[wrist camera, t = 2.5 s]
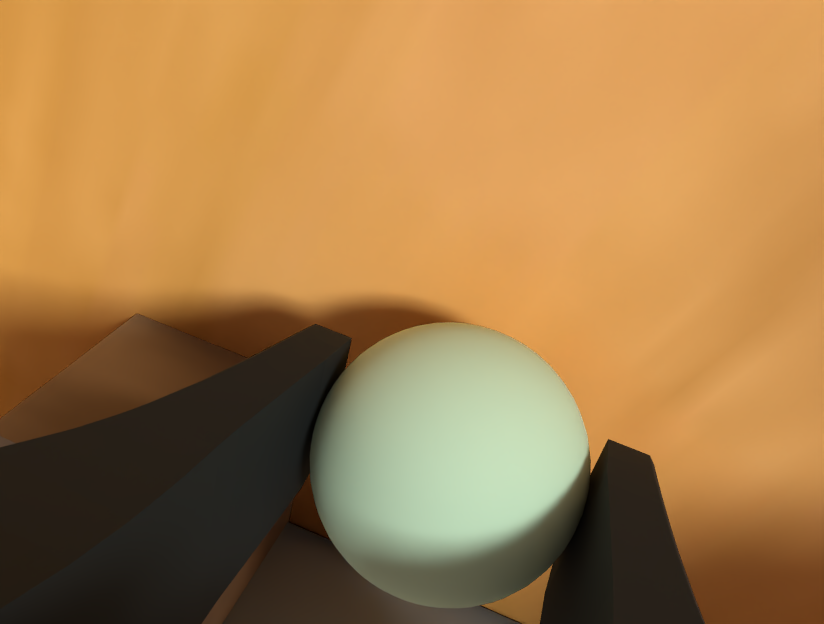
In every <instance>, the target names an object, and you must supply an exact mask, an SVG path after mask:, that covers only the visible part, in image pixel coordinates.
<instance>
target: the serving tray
mask: <svg viewBox="0 0 824 624" xmlns="http://www.w3.org/2000/svg"><path fill="white" fill-rule="evenodd" d="M222 624H520V623H518V622H515V621H513V620H511V619H509V618H506V617H504V616H502V615H499V614H497V613H495V612H493V611H490V610H488V609H486V608H483V607H481V606H474V607H468V608H436V607H428V606H423V605H418V604H415V603H411V602H408V601H405V600H402V599H400V598H397V597H395V596H393V595H391V594H389V593H387V592H385V591H383V590H381V589H380V588H378V587H376V586H375V585H373V584H372V583H371V582H369V581H368V580H366V579H365V578H364V577H363V576H361V575H360V574H359V573H358V572H357V571H356V570H355V569H354V568H353V567H352V566H351V565H350V564H349V563H348V562H347V561H346V560H345V558H344V557H343V556H342V555H341V553H340V552H339V551H338V550H337V548H336V547H335V545H334V544H333V542H332V541H330V540H328V539H326V538H324V537H321V536H319V535H317V534H314V533H312V532H310V531H308V530H305V529H303V528H301V527H298V526H296V525H294V524H292V523H289V522H288V523H287V524H286V526H285V527H284V529H283V530H282V532H281V533H280V535H279V537H278V538H277V540H276V541H275V543H274V544H273V546H272V547H271V549H270V551H269V552H268V554H267V555H266V557H265V558H264V560H263V561H262V563H261V565H260V566H259V568H258V569H257V571H256V572H255V574H254V575H253V577H252V578H251V580H250V582H249V583H248V585H247V586H246V588H245V589H244V591H243V592H242V594H241V596H240V597H239V599H238V600H237V602H236V603H235V605H234V606H233V608H232V609H231V611H230V613H229V614H228V616H227V617H226V619H225V620H224V622H223V623H222Z"/></svg>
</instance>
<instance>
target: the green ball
mask: <svg viewBox="0 0 824 624" xmlns="http://www.w3.org/2000/svg"><path fill="white" fill-rule="evenodd" d="M590 463H591V460H590V452H589V444H588V437H587V432H586V429H585V426H584V423H583V419H582V417H581V414H580V411H579V409H578V407H577V404H576V402H575V400H574V398H573V396H572V395H571V393H570V392H569V390H568V388H567V387H566V385H565V384H564V382H563V381H562V380H561V378H560V377H559V376H558V374H557V373H556V372H555V371H554V370H553V369H552V367H551V366H550V365H549V364H548V363H547V362H546V361H545V360H543V359H542V358H541V357H540V356H539V355H538V354H537V353H535V352H534V351H533V350H531V349H530V348H529V347H527V346H526V345H524V344H522V343H521V342H519V341H517V340H515V339H514V338H512V337H510V336H507V335H505V334H503V333H501V332H498V331H495V330H492V329H489V328H486V327H483V326H478V325H473V324H468V323H456V322H444V323H432V324H425V325H419V326H415V327H411V328H408V329H405V330H402V331H399V332H397V333H395V334H392V335H390V336H388V337H386V338H384V339H382V340H380V341H379V342H377V343H376V344H374V345H373V346H371V347H370V348H368V349H367V350H366V351H364V352H363V353H361V354H360V355H359V356H358V357H357V358H356V359H355V360H354V361H353V362H352V363H351V364H350V365H349V366H348V367H347V368H346V369H345V370H344V371H343V372H342V373H341V375H340V376H339V378H338V379H337V380H336V382H335V383H334V384H333V386H332V388H331V389H330V391H329V393H328V394H327V396H326V398H325V400H324V402H323V404H322V406H321V409H320V412H319V414H318V417H317V420H316V424H315V427H314V431H313V436H312V442H311V450H310V480H311V486H312V491H313V496H314V501H315V505H316V508H317V511H318V514H319V517H320V519H321V521H322V523H323V526H324V528H325V530H326V532H327V534H328V536H329V538H330V539H331V541H332V542H333V544H334V545H335V547H336V548H337V550H338V551H339V552H340V553H341V555H342V556H343V557H344V558H345V560H346V561H347V562H348V563H349V564H350V565H351V566H352V567H353V568H354V569H355V570H356V571H357V572H358V573H359V574H360V575H361V576H363V577H364V578H365V579H366V580H368V581H369V582H371V583H372V584H373V585H375V586H376V587H378V588H380V589H381V590H383V591H385V592H387V593H389V594H391V595H393V596H395V597H397V598H400V599H402V600H405V601H408V602H411V603H415V604H418V605H423V606H428V607H436V608H468V607H474V606H479V605H483V604H487V603H491V602H495V601H497V600H500V599H503V598H505V597H507V596H509V595H511V594H513V593H515V592H517V591H519V590H521V589H523V588H524V587H526V586H528V585H529V584H530V583H532V582H533V581H534V580H535V579H537V578H538V577H539V576H540V575H542V574H543V573H544V572H545V571H547V569H548V568H549V567H550V566H551V565H552V564H553V563H554V562H555V561H556V560H557V558H558V557H559V556H560V555H561V553H562V552H563V551H564V550H565V548H566V546H567V545H568V543H569V542H570V540H571V538H572V536H573V535H574V533H575V531H576V528H577V526H578V524H579V521H580V519H581V517H582V514H583V511H584V507H585V503H586V500H587V496H588V491H589V483H590Z"/></svg>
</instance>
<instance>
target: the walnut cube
mask: <svg viewBox="0 0 824 624" xmlns="http://www.w3.org/2000/svg"><path fill="white" fill-rule="evenodd" d="M246 359H248V358H246V357H243V356H241V355H239V354H236V353H234V352H231V351H229V350H226V349H224V348H221V347H219V346H216V345H214V344H211V343H209V342H206V341H204V340H201V339H199V338H196V337H194V336H191V335H189V334H187V333H184V332H182V331H179V330H177V329H174V328H172V327H169V326H167V325H164V324H162V323H159V322H157V321H154V320H152V319H149V318H147V317H144V316H142V315H140V314H136V315H134V316H133V317H132V318H130V319H129V320H128V321H126V322H125V323H124V324H123V325H121V326H120V327H119V328H117V329H116V330H115V331H113V332H112V333H111V334H110V335H108V336H107V337H106V338H104V339H103V340H102V341H100V342H99V343H98V344H97V345H95V346H94V347H93V348H91V349H90V350H89V351H87V352H86V353H85V354H83V355H82V356H81V357H80V358H78V359H77V360H76V361H74V362H73V363H72V364H70V365H69V366H68V367H67V368H65V369H64V370H63V371H61V372H60V373H59V374H57V375H56V376H55V377H54V378H52V379H51V380H50V381H48V382H47V383H46V384H44V385H43V386H42V387H40V388H39V389H38V390H37V391H35V392H34V393H33V394H31V395H30V396H29V397H27V398H26V399H25V400H24V401H22V402H21V403H20V404H18V405H17V406H16V407H14V408H13V409H12V410H11V411H9V412H8V413H7V414H5V415H4V416H3V417H1V418H0V447H3V446H7V445H11V444H15V443H19V442H23V441H27V440H31V439H35V438H39V437H43V436H47V435H51V434H55V433H58V432H62V431H66V430H70V429H73V428H77V427H80V426H83V425H86V424H89V423H93V422H96V421H99V420H102V419H105V418H108V417H111V416H114V415H117V414H120V413H123V412H126V411H128V410H131V409H134V408H136V407H139V406H142V405H144V404H147V403H150V402H152V401H154V400H157V399H159V398H162V397H164V396H166V395H169V394H171V393H173V392H176V391H178V390H181V389H183V388H185V387H188V386H190V385H193V384H195V383H197V382H199V381H202V380H204V379H206V378H208V377H210V376H212V375H214V374H216V373H219V372H221V371H223V370H225V369H227V368H229V367H231V366H233V365H235V364H237V363H239V362H241V361H244V360H246ZM292 502H293V500H292V501H291V503H290V504H289V505H288V507H287V508H286V509H285V511H284V512H283V513H282V515H281V516H280V517H279V519H278V520H277V522H276V523H275V524H274V526H273V527H272V528H271V530H270V531H269V532H268V534H267V535H266V536H265V538H264V539H263V540H262V542H261V543H260V544H259V546H258V547H257V548H256V550H255V551H254V552H253V554H252V555H251V556H250V558H249V559H248V560H247V562H246V563H245V564H244V566H243V567H242V568H241V570H240V571H239V572H238V574H237V575H236V576H235V578H234V579H233V580H232V582H231V583H230V584H229V586H228V587H227V588H226V590H225V591H224V592H223V594H222V595H221V596H220V598H219V599H218V601H217V602H216V604H215V605H214V606H213V608H212V609H211V611H210V612H209V614H208V615H207V617H206V618H205V620H204V621H203V623H202V624H222V623H223V622H224V620H225V619H226V617H227V616H228V614H229V613H230V611H231V609H232V608H233V606H234V605H235V603H236V602H237V600H238V599H239V597H240V596H241V594H242V592H243V591H244V589H245V588H246V586H247V585H248V583H249V582H250V580H251V578H252V577H253V575H254V574H255V572H256V571H257V569H258V568H259V566H260V565H261V563H262V561H263V560H264V558H265V557H266V555H267V554H268V552H269V551H270V549H271V547H272V546H273V544H274V543H275V541H276V540H277V538H278V537H279V535H280V533H281V532H282V530H283V529H284V527H285V526H286V524H287V523H288V521H289V518H290V513H291V508H292Z"/></svg>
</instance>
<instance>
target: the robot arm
mask: <svg viewBox="0 0 824 624" xmlns="http://www.w3.org/2000/svg"><path fill="white" fill-rule="evenodd" d="M351 339H352V338H350V337H348V336H345V335H342V334H340V333H337V332H335V331H332V330H330V329H327V328H325V327H322V326H320V325H317V324H315V325H313V326H310V327H308V328H306V329H304V330H302V331H300V332H298V333H296V334H294V335H292V336H290V337H288V338H286V339H285V340H283V341H281V342H279V343H277V344H275V345H273V346H271V347H269V348H267V349H265V350H263V351H261V352H259V353H257V354H255V355H253V356H252V357H250V358H248V359H246V360H244V361H241V362H239V363H237V364H235V365H233V366H231V367H229V368H227V369H225V370H223V371H221V372H219V373H216V374H214V375H212V376H210V377H208V378H206V379H204V380H202V381H199V382H197V383H195V384H193V385H190V386H188V387H185V388H183V389H181V390H178V391H176V392H173V393H171V394H169V395H166V396H164V397H162V398H159V399H157V400H154V401H152V402H150V403H147V404H144V405H142V406H139V407H136V408H134V409H131V410H128V411H126V412H123V413H120V414H117V415H114V416H111V417H108V418H105V419H102V420H99V421H96V422H93V423H89V424H86V425H83V426H80V427H77V428H73V429H70V430H66V431H62V432H58V433H55V434H51V435H47V436H43V437H39V438H35V439H31V440H27V441H23V442H19V443H15V444H11V445H7V446H3V447H0V624H202V623H203V621H204V620H205V618H206V617H207V615H208V614H209V612H210V611H211V609H212V608H213V606H214V605H215V604H216V602H217V601H218V599H219V598H220V596H221V595H222V594H223V592H224V591H225V590H226V588H227V587H228V586H229V584H230V583H231V582H232V580H233V579H234V578H235V576H236V575H237V574H238V572H239V571H240V570H241V568H242V567H243V566H244V564H245V563H246V562H247V560H248V559H249V558H250V556H251V555H252V554H253V552H254V551H255V550H256V548H257V547H258V546H259V544H260V543H261V542H262V540H263V539H264V538H265V536H266V535H267V534H268V532H269V531H270V530H271V528H272V527H273V526H274V524H275V523H276V522H277V520H278V519H279V517H280V516H281V515H282V513H283V512H284V511H285V509H286V508H287V507H288V505H289V504H290V503H291V501H292V500H293V498H294V497H295V496H296V494H297V493H298V492H299V490H300V489H301V487H302V486H303V484H304V482H305V480H306V479H307V477H308V475H309V474H310V450H311V442H312V436H313V431H314V427H315V424H316V420H317V417H318V414H319V412H320V409H321V406H322V404H323V402H324V400H325V398H326V396H327V394H328V393H329V391H330V389H331V388H332V386H333V384H334V383H335V382H336V380H337V379H338V378H339V376H340V375H341V373H342V372H343V371H344V370H345V367H346V363H347V358H348V353H349V349H350V344H351ZM540 624H705V622H704V620H703V617H702V615H701V612H700V610H699V607H698V604H697V602H696V599H695V597H694V594H693V591H692V588H691V586H690V583H689V580H688V577H687V574H686V571H685V568H684V566H683V563H682V560H681V557H680V554H679V551H678V548H677V545H676V542H675V539H674V536H673V532H672V529H671V526H670V522H669V519H668V516H667V512H666V509H665V505H664V502H663V498H662V494H661V491H660V487H659V483H658V479H657V475H656V471H655V467H654V464H653V461H652V459H651V457H650V455H647V454H645V453H642V452H640V451H637V450H635V449H632V448H630V447H627V446H624V445H622V444H619V443H617V442H614V441H612V440H609V439H608V441H607V443H606V445H605V447H604V449H603V451H602V453H601V455H600V457H599V459H598V461H597V463H596V465H595V467H594V469H593V471H592V473H591V475H590V483H589V491H588V496H587V500H586V503H585V507H584V511H583V514H582V517H581V519H580V521H579V524H578V526H577V528H576V531H575V533H574V535H573V536H572V538H571V540H570V542H569V543H568V545H567V546H566V548H565V550H564V551H563V552H562V553H561V555H560V556H559V557H558V558H557V560H556V561H555V562H554V563H553V566H552V569H551V573H550V577H549V580H548V584H547V588H546V591H545V596H544V602H543V608H542V614H541V621H540Z"/></svg>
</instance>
